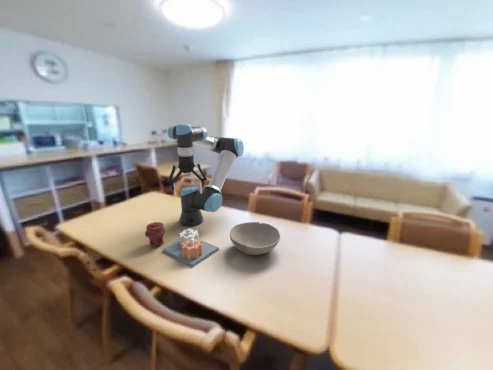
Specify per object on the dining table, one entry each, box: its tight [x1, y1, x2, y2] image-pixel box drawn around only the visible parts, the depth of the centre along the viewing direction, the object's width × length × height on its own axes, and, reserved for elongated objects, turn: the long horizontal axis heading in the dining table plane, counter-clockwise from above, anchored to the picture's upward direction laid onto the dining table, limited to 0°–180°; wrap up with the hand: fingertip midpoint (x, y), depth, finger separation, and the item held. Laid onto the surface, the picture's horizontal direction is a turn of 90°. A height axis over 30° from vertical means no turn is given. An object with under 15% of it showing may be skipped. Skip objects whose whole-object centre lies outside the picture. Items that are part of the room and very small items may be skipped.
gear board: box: [162, 228, 220, 268], centre depth 121 cm, size 18×22×10 cm
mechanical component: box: [144, 221, 167, 249], centre depth 125 cm, size 12×10×10 cm
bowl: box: [229, 221, 281, 256], centre depth 123 cm, size 26×26×10 cm
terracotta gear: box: [182, 239, 203, 260], centre depth 116 cm, size 10×10×6 cm
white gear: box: [178, 228, 200, 246], centre depth 126 cm, size 10×10×6 cm
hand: (188, 194), depth 127 cm, fingers open, 13 cm apart
